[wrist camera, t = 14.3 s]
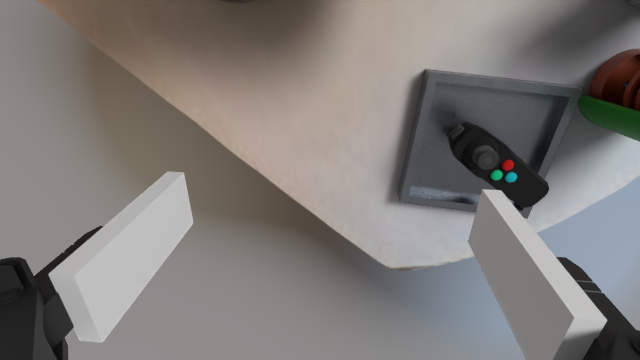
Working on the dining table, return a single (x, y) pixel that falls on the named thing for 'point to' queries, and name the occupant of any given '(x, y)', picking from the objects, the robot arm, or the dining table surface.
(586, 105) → the green cylindrical container
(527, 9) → the dining table surface
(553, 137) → the tray
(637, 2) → the coffeepot
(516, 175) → the controller
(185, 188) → the robot arm
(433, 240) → the dining table surface
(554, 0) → the dining table surface
